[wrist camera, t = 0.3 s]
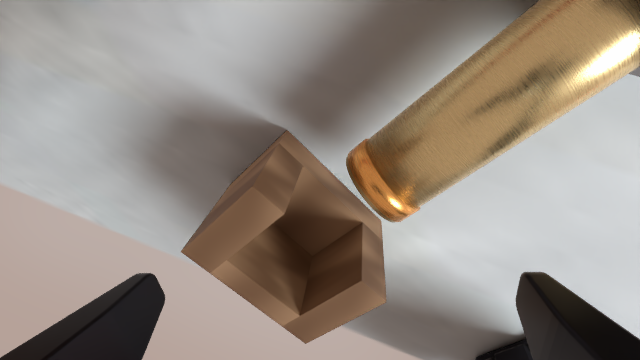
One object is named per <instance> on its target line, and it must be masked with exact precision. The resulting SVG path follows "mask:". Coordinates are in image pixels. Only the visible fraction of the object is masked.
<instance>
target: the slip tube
mask: <svg viewBox="0 0 640 360" xmlns="http://www.w3.org/2000/svg"><path fill="white" fill-rule="evenodd" d="M638 67H640V0H539V1H538V2H537V3H536V4H535V5H533V6H532V7H531V8H530V9H528V10H527V11H526V12H525V13H523V14H522V15H521V16H520V17H519V18H517V19H516V20H515V21H514V22H512V23H511V24H510V25H509V26H507V27H506V28H505V29H504V30H502V31H501V32H500V33H499V34H498V35H496V36H495V37H494V38H493V39H491V40H490V41H489V42H488V43H486V44H485V45H484V46H483V47H482V48H480V49H479V50H478V51H477V52H475V53H474V54H473V55H472V56H470V57H469V58H468V59H467V60H466V61H464V62H463V63H462V64H461V65H459V66H458V67H457V68H456V69H454V70H453V71H452V72H451V73H450V74H448V75H447V76H446V77H445V78H443V79H442V80H441V81H440V82H438V83H437V84H436V85H435V86H434V87H432V88H431V89H430V90H429V91H427V92H426V93H425V94H424V95H422V96H421V97H420V98H419V99H418V100H416V101H415V102H414V103H413V104H411V105H410V106H409V107H408V108H406V109H405V110H404V111H403V112H402V113H400V114H399V115H398V116H397V117H395V118H394V119H393V120H392V121H390V122H389V123H388V124H387V125H385V126H384V127H383V128H382V129H381V130H379V131H378V132H377V133H376V134H374V135H373V136H372V137H371V138H369V139H365V140H364V141H362V142H361V143H360V144H359V145H358V146H356V147H355V148H354V149H353V150H351V151H350V152H349V154H348V156H347V158H346V166H347V170H348V172H349V175H350V177H351V179H352V181H353V183H354V185H355V186H356V188H357V190H358V191H359V193H360V194H361V195H362V197H363V198H364V199H365V201H366V202H367V203H368V204H369V205H370V206H371V207H372V208H373V210H375V211H376V212H377V213H378V214H379V215H380V216H381V217H383V218H384V219H386V220H388V221H390V222H401V221H402V220H404V219H406V218H407V217H409V216H410V215H412V214H413V213H415V212H417V211H418V210H419V209H420V206H422V205H423V204H425V203H427V202H428V201H430V200H431V199H433V198H434V197H436V196H438V195H439V194H441V193H442V192H444V191H445V190H447V189H448V188H450V187H452V186H453V185H455V184H456V183H458V182H459V181H461V180H463V179H464V178H466V177H467V176H469V175H470V174H472V173H474V172H475V171H477V170H478V169H480V168H481V167H483V166H484V165H486V164H488V163H489V162H491V161H492V160H494V159H495V158H497V157H499V156H500V155H502V154H503V153H505V152H506V151H508V150H510V149H511V148H513V147H514V146H516V145H517V144H519V143H521V142H522V141H524V140H525V139H527V138H528V137H530V136H531V135H533V134H535V133H536V132H538V131H539V130H541V129H542V128H544V127H546V126H547V125H549V124H550V123H552V122H553V121H555V120H557V119H558V118H560V117H561V116H563V115H564V114H566V113H567V112H569V111H571V110H572V109H574V108H575V107H577V106H578V105H580V104H582V103H583V102H585V101H586V100H588V99H589V98H591V97H593V96H594V95H596V94H597V93H599V92H600V91H602V90H604V89H605V88H607V87H608V86H610V85H611V84H613V83H614V82H616V81H618V80H619V79H621V78H622V77H624V76H625V75H627V74H629V73H630V72H632V71H633V70H635V69H636V68H638Z"/></svg>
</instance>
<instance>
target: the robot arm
mask: <svg viewBox="0 0 640 360" xmlns="http://www.w3.org/2000/svg"><path fill="white" fill-rule="evenodd" d="M164 302H165V294H164V292H163V290H162V288H161V286H160V284H159V282H158V280H157V278H156V277H155V275H153V274H151V273H139V274H136V275H134V276H132V277H130V278H129V279H127V280H126V281H124V282H122V283H121V284H119V285H118V286H116V287H114V288H113V289H111V290H109V291H108V292H106V293H104V294H103V295H101V296H100V297H98V298H96V299H95V300H93V301H92V302H90V303H88V304H87V305H85V306H83V307H82V308H80V309H78V310H77V311H75V312H74V313H72V314H70V315H69V316H67V317H66V318H64V319H62V320H61V321H59V322H58V323H56V324H54V325H53V326H51V327H49V328H48V329H46V330H44V331H43V332H41V333H40V334H38V335H36V336H35V337H33V338H32V339H30V340H28V341H27V342H25V343H23V344H22V345H20V346H18V347H17V348H15V349H14V350H12V351H10V352H9V353H7V354H6V355H4V356H2V357H1V358H0V360H142V358H143V355H144V353H145V351H146V348H147V346H148V343H149V341H150V338H151V336H152V333H153V331H154V328H155V326H156V323H157V321H158V318H159V315H160V313H161V311H162V308H163V306H164ZM516 307H517V311H518V314H519V317H520V320H521V324H522V327H523V330H524V333H525V336H526V340H523V341H520V342H518V343H515V344H512V345H509V346H507V347H504V348H501V349H499V350H496V351H493V352H490V353H488V354H485V355H482V356H479V357H477V358H476V359H475V360H640V339H639V338H637V337H636V336H634V335H633V334H631V333H630V332H629V331H627V330H626V329H624V328H623V327H622V326H620V325H619V324H617V323H616V322H614V321H613V320H612V319H610V318H609V317H607V316H606V315H604V314H603V313H602V312H600V311H599V310H597V309H596V308H595V307H593V306H592V305H590V304H589V303H587V302H586V301H585V300H583V299H582V298H580V297H579V296H577V295H576V294H575V293H573V292H572V291H570V290H569V289H567V288H566V287H565V286H563V285H562V284H560V283H559V282H558V281H556V280H555V279H553V278H552V277H550V276H549V275H547V274H546V273H543V272H524V273H522V275H521V277H520V281H519V286H518V290H517V295H516Z"/></svg>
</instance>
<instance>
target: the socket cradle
mask: <svg viewBox="0 0 640 360" xmlns="http://www.w3.org/2000/svg"><path fill="white" fill-rule="evenodd" d="M181 252H182V253H183V254H184V255H186V256H187V257H189V258H190V259H191V260H193V261H194V262H195V263H197V264H198V265H199V266H201V267H202V268H203V269H205V270H206V271H208V272H209V273H210V274H212V275H213V276H214V277H216V278H217V279H218V280H220V281H221V282H223V283H224V284H225V285H227V286H228V287H229V288H231V289H232V290H233V291H235V292H236V293H237V294H239V295H240V296H242V297H243V298H244V299H246V300H247V301H248V302H250V303H251V304H252V305H254V306H255V307H257V308H258V309H259V310H261V311H262V312H263V313H265V314H266V315H267V316H269V317H270V318H271V319H273V320H274V321H275V322H277V323H278V324H280V325H281V326H282V327H284V328H285V329H286V330H288V331H289V332H290V333H292V334H293V335H295V336H296V337H297V338H299V339H300V340H301V341H303V342H304V343H305V344H306V343H308V342H310V341H312V340H314V339H316V338H318V337H320V336H322V335H324V334H326V333H327V332H329V331H331V330H333V329H335V328H337V327H339V326H341V325H343V324H345V323H347V322H349V321H351V320H353V319H355V318H357V317H359V316H361V315H362V314H364V313H366V312H368V311H370V310H372V309H374V308H376V307H378V306H380V305H382V304H384V303H386V288H385V272H384V257H383V241H382V225H381V220H380V219H379V218H378V217H377V216H375V215H374V214H373V213H372V212H371V211H370V210H369V209H368V208H367V207H366V206H365V205H364V204H363V203H362V202H361V201H360V200H359V199H358V198H357V197H356V196H355V195H354V194H353V193H352V192H351V191H350V190H349V189H348V188H347V187H346V186H345V185H344V184H342V183H341V182H340V181H339V180H338V179H337V178H336V177H335V176H334V175H333V174H332V173H331V172H330V171H329V170H328V169H327V168H326V167H325V166H324V165H323V164H322V163H321V162H320V161H319V160H318V159H317V158H316V157H315V156H314V155H313V154H312V153H310V152H309V151H308V150H307V149H306V148H305V147H304V146H303V145H302V144H301V143H300V142H299V141H298V140H297V139H296V138H295V137H294V136H293V135H292V134H291V133H290V132H289V131H288V130H286V131H285V132H284V133H283V134H282V135H281V136H280V137H279V138H278V139H277V140H276V141H275V142H274V143H273V144H272V145H271V146H270V147H269V148H268V149H267V150H266V151H265V152H264V153H263V154H262V155H261V156H259V157H258V158H257V159H256V160H255V161H254V162H253V163H252V164H251V165H250V166H249V167H248V168H247V169H246V170H245V171H244V172H243V173H242V174H241V175H240V176H239V177H238V178H237V179H236V180H235V181H234V182H232V183H231V184H230V186H229V187H228V188H227V190H226V191H225V193H224V194H223V195H222V197H221V198H220V199H219V201H218V202H217V203H216V205H215V206H214V207H213V209H212V210H211V211H210V213H209V214H208V216H207V217H206V218H205V220H204V221H203V222H202V224H201V225H200V226H199V228H198V229H197V230H196V232H195V233H194V234H193V236H192V237H191V239H190V240H189V241H188V243H187V244H186V245H185V247H184V248H183V249H182V251H181Z"/></svg>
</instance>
